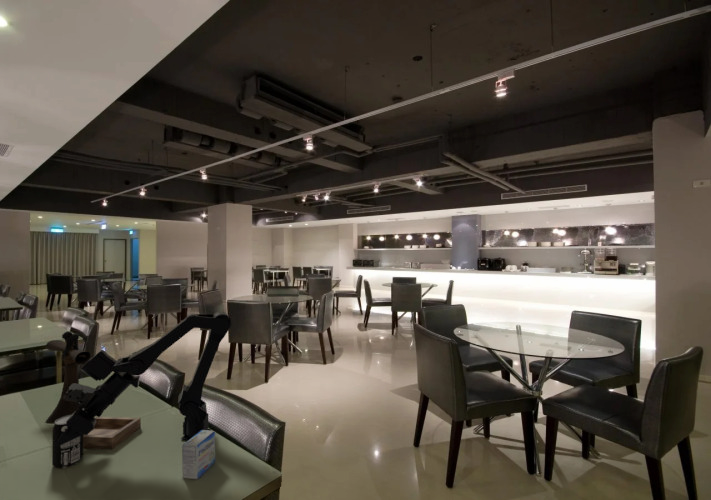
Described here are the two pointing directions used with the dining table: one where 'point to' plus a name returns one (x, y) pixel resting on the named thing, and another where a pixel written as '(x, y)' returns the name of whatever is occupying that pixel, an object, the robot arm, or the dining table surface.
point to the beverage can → (65, 446)
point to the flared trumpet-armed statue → (68, 371)
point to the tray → (110, 432)
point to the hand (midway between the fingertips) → (61, 437)
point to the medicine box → (198, 454)
